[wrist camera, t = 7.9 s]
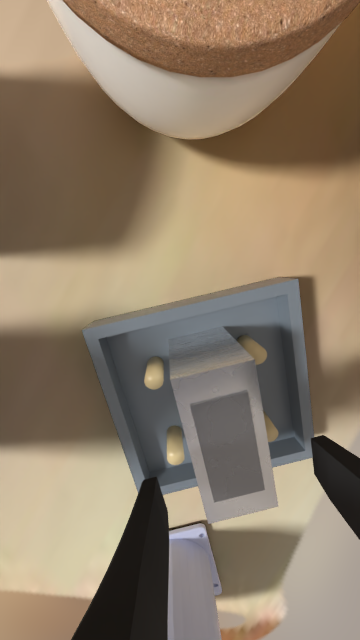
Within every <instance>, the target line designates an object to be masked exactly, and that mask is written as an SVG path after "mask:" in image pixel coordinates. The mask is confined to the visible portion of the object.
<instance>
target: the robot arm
mask: <svg viewBox="0 0 360 640" xmlns="http://www.w3.org/2000/svg"><path fill="white" fill-rule="evenodd" d="M311 447H312V456H313V465H314V474H315V476H316V477H317V479H318V481H319V482H320V484H321V486H322V487H323V489H324V491H325V492H326V494H327V495H328V497H329V499H330V500H331V502H332V503H333V504H334V506H335V507H336V508H337V510H338V511H339V512H340V514H341V515H342V517H343V518H344V519H345V521H346V522H347V523H348V525H349V526H350V527H351V529H352V530H353V531H354V533H355V534H356V535H357V537H358V538H359V539H360V458H358V457H357V456H355V455H354V454H352V453H351V452H349V451H348V450H346V449H344V448H343V447H341V446H340V445H338V444H337V443H335V442H334V441H332V440H330V439H329V438H327V437H326V436H324V435H322V436H318V437H314V438H311ZM221 593H222V587H221V583H220V579H219V575H218V572H217V568H216V564H215V561H214V557H213V553H212V549H211V546H210V542H209V538H208V535H207V531H206V527H205V525H204V524H202V523H199V524H195V525H191V526H187V527H183V528H179V529H175V530H171V531H169V525H168V511H167V507H166V504H165V501H164V498H163V495H162V492H161V488H160V485H159V482H158V479H157V477H153V478H149V479H145V480H143V482H142V484H141V487H140V490H139V493H138V496H137V499H136V502H135V504H134V507H133V510H132V512H131V515H130V518H129V520H128V523H127V525H126V528H125V530H124V533H123V535H122V538H121V540H120V542H119V545H118V547H117V549H116V552H115V554H114V556H113V558H112V561H111V563H110V565H109V567H108V569H107V572H106V574H105V576H104V578H103V580H102V582H101V584H100V586H99V588H98V590H97V592H96V594H95V596H94V598H93V600H92V602H91V604H90V606H89V608H88V610H87V611H86V613H85V615H84V617H83V619H82V621H81V622H80V624H79V626H78V628H77V630H76V632H75V633H74V635H73V637H72V639H71V640H222V639H221V633H220V627H219V620H218V613H217V607H216V600H215V596H216V595H220V594H221Z"/></svg>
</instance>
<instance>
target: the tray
mask: <svg viewBox="0 0 360 640" xmlns="http://www.w3.org/2000/svg"><path fill="white" fill-rule="evenodd" d="M218 327H223V328H224V329H225V330H226V331H227V332H228V333H229V334H230V335H231V336H232V337H233V338H234V339H235V340H236V341H237V342H238V343H239V344H240V345H241V346H242V347H243V348H244V349H245V350H246V351H247V352H248V353H249V354H250V355H251V356H252V357H253V358H254V359H255V364H256V370H257V376H258V382H259V389H260V395H261V401H262V407H263V414H264V420H265V426H266V432H267V439H268V445H269V451H270V457H271V464H272V468H273V467H277V466H281V465H285V464H289V463H293V462H297V461H301V460H305V459H309V458H313V456H312V447H311V438H314V430H313V420H312V410H311V400H310V390H309V380H308V370H307V360H306V350H305V341H304V331H303V321H302V311H301V301H300V291H299V281H298V279H296V278H284V277H277V278H273V279H269V280H264V281H260V282H256V283H252V284H248V285H243V286H239V287H235V288H231V289H227V290H222V291H218V292H214V293H210V294H205V295H201V296H197V297H193V298H189V299H184V300H180V301H176V302H172V303H168V304H163V305H159V306H155V307H151V308H147V309H142V310H138V311H134V312H130V313H126V314H121V315H117V316H113V317H109V318H104V319H100V320H96V321H93V322H92V323H91V324H89V325H88V326H87V327H85V328H84V329H83V330H82V333H83V335H84V338H85V341H86V344H87V347H88V350H89V353H90V356H91V358H92V361H93V364H94V367H95V370H96V373H97V376H98V379H99V381H100V384H101V387H102V390H103V393H104V396H105V399H106V402H107V404H108V407H109V410H110V413H111V416H112V419H113V422H114V425H115V427H116V430H117V433H118V436H119V439H120V442H121V445H122V448H123V450H124V453H125V456H126V459H127V462H128V465H129V468H130V471H131V473H132V476H133V479H134V482H135V485H136V488H137V491H138V493H139V490H140V487H141V484H142V482H143V480H145V479H149V478H153V477H157V479H158V482H159V485H160V488H161V492H162V495H164V494H168V493H172V492H176V491H180V490H184V489H188V488H192V487H196V486H198V483H197V479H196V476H195V472H194V468H193V464H192V460H191V457H190V453H189V449H188V445H187V441H186V438H185V434H184V430H183V426H182V422H181V419H180V415H179V411H178V407H177V403H176V400H175V396H174V392H173V388H172V384H171V381H170V364H169V344H168V339H172V338H176V337H180V336H185V335H189V334H193V333H197V332H201V331H205V330H210V329H214V328H218Z"/></svg>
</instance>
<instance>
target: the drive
mask: <svg viewBox="0 0 360 640" xmlns="http://www.w3.org/2000/svg"><path fill="white" fill-rule="evenodd" d="M168 344H169V364H170V381H171V384H172V388H173V392H174V396H175V400H176V403H177V407H178V411H179V415H180V419H181V422H182V426H183V430H184V434H185V438H186V441H187V445H188V449H189V453H190V457H191V460H192V464H193V468H194V472H195V476H196V479H197V483H198V487H199V491H200V495H201V498H202V502H203V506H204V510H205V513H206V517H207V521H208V524H210V523H214V522H218V521H222V520H226V519H230V518H234V517H238V516H242V515H246V514H250V513H254V512H258V511H262V510H266V509H270V508H274V507H278V501H277V495H276V489H275V482H274V476H273V470H272V464H271V457H270V451H269V445H268V439H267V432H266V426H265V420H264V414H263V407H262V401H261V395H260V389H259V382H258V376H257V370H256V364H255V359H254V358H253V357H252V356H251V355H250V354H249V353H248V352H247V351H246V350H245V349H244V348H243V347H242V346H241V345H240V344H239V343H238V342H237V341H236V340H235V339H234V338H233V337H232V336H231V335H230V334H229V333H228V332H227V331H226V330H225V329H224V328H223V327H218V328H214V329H210V330H205V331H201V332H197V333H193V334H189V335H185V336H180V337H176V338H172V339H168Z"/></svg>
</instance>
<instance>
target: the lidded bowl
mask: <svg viewBox="0 0 360 640" xmlns="http://www.w3.org/2000/svg"><path fill="white" fill-rule="evenodd" d="M47 2H48V4H49V6H50V7H51V9H52V11H53V13H54V15H55V17H56V18H57V20H58V22H59V24H60V26H61V28H62V29H63V31H64V33H65V35H66V36H67V38H68V40H69V42H70V43H71V45H72V47H73V49H74V50H75V52H76V54H77V55H78V57H79V58H80V59H81V61H82V62H83V63H84V65H85V66H86V68H87V69H88V70H89V72H90V73H91V75H92V76H93V77H94V79H95V80H96V81H97V83H98V84H99V86H100V87H101V88H102V90H103V91H104V92H105V93H106V94H107V95H108V96H109V97H110V98H111V99H112V100H113V101H114V102H115V103H116V104H117V106H118V107H120V108H121V109H122V110H123V111H125V112H126V113H127V114H129V115H130V116H131V117H132V118H134V119H135V120H136V121H138V122H139V123H140V124H142V125H144V126H146V127H148V128H149V129H151V130H153V131H155V132H158V133H161V134H164V135H167V136H169V137H175V138H181V139H204V138H209V137H214V136H218V135H220V134H223V133H225V132H228V131H230V130H233V129H235V128H238V127H240V126H241V125H243V124H245V123H246V122H248V121H249V120H251V119H253V118H254V117H256V116H257V115H258V114H259V113H260V112H262V111H263V110H264V109H265V108H266V107H268V106H269V105H270V104H271V103H272V102H273V101H274V100H276V99H277V98H278V97H279V96H280V95H281V94H282V93H284V92H285V90H286V89H287V88H288V87H289V86H290V85H291V84H292V83H293V82H294V81H295V80H296V79H297V77H298V76H299V75H300V74H301V73H302V72H303V71H304V69H305V68H306V67H307V66H308V65H309V63H310V62H311V61H312V60H313V59H314V58H315V56H316V55H317V54H318V53H319V51H320V50H321V49H322V48H323V46H324V45H325V44H326V42H327V41H328V40H329V39H330V37H331V36H332V35H333V33H334V32H335V31H336V29H337V28H338V27H339V25H340V24H341V23H342V21H343V20H344V19H345V18H346V17H347V16H348V15H349V14H350V13H351V12H352V10H353V9H354V8H355V7H356V6H357V4H358V3H359V2H360V0H47Z"/></svg>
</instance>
